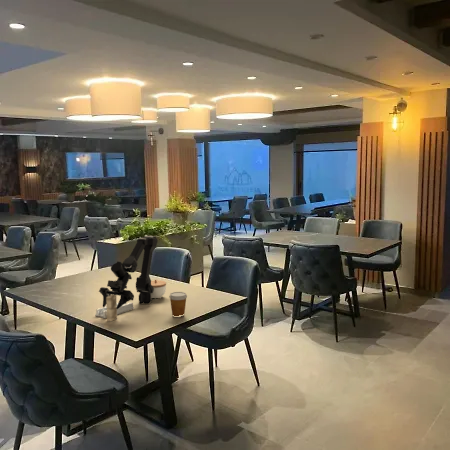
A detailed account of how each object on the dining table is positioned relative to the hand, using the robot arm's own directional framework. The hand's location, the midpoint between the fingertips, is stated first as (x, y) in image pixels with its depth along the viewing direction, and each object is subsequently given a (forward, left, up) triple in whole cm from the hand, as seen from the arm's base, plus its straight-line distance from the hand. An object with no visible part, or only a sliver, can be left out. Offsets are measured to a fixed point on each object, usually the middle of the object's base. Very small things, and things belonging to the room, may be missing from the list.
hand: (110, 307), depth 239 cm
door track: (+1, -13, -7) cm, 15 cm away
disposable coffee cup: (-34, -8, -7) cm, 36 cm away
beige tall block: (-1, -1, -7) cm, 7 cm away
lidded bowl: (-17, -43, -7) cm, 46 cm away
